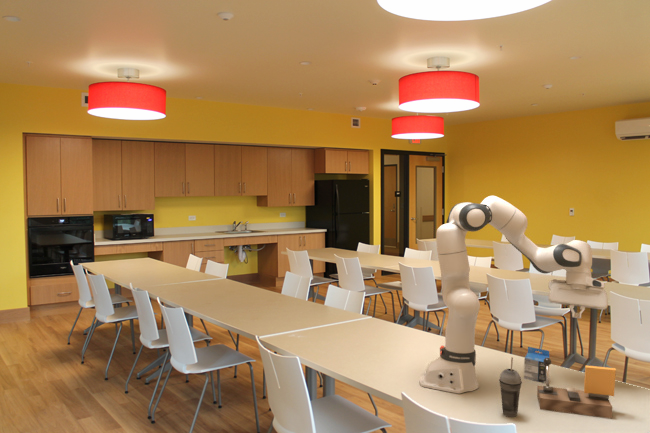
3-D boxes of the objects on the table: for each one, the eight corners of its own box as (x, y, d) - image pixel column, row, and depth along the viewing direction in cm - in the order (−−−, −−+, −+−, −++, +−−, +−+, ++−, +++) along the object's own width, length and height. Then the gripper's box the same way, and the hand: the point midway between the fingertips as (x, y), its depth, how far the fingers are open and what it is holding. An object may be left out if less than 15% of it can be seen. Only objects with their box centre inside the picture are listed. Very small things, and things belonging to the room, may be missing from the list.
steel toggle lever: (543, 391, 174) (543, 357, 178) (543, 391, 177) (542, 357, 180) (553, 392, 173) (552, 357, 177) (552, 392, 176) (551, 358, 179)
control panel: (540, 409, 171) (540, 394, 171) (537, 396, 182) (537, 382, 182) (612, 418, 164) (612, 403, 163) (604, 404, 175) (604, 389, 175)
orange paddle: (584, 396, 171) (586, 367, 168) (583, 393, 173) (585, 364, 170) (613, 400, 168) (616, 370, 165) (612, 397, 170) (614, 367, 167)
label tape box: (523, 378, 200) (523, 348, 200) (527, 375, 203) (527, 346, 203) (545, 383, 194) (546, 353, 194) (549, 381, 197) (550, 350, 197)
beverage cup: (516, 410, 170) (516, 352, 170) (525, 419, 163) (526, 359, 162) (495, 410, 170) (495, 353, 169) (503, 419, 163) (504, 360, 162)
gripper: (549, 277, 192) (547, 312, 188) (609, 283, 185) (608, 320, 181) (548, 280, 197) (546, 314, 194) (605, 287, 190) (604, 323, 186)
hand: (576, 317), depth 187 cm, fingers closed
